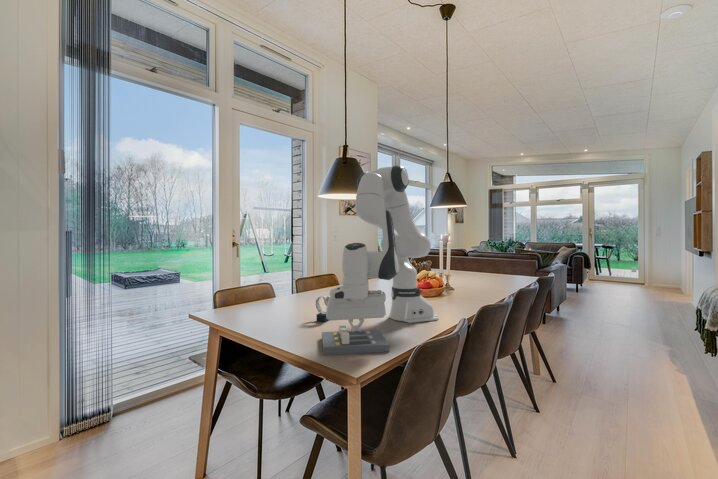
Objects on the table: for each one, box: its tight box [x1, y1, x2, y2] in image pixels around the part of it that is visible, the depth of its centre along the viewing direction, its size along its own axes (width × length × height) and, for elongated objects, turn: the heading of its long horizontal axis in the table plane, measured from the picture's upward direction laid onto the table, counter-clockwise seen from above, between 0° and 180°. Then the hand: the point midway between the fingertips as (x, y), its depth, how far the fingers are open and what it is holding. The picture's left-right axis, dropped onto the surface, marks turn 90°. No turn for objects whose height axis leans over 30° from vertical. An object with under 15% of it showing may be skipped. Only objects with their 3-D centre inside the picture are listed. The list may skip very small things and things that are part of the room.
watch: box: [315, 295, 330, 323], centre depth 159 cm, size 6×8×11 cm
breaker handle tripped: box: [342, 332, 349, 344], centre depth 121 cm, size 2×3×3 cm
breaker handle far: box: [338, 323, 347, 334], centre depth 132 cm, size 2×3×3 cm
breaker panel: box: [321, 329, 390, 356], centre depth 127 cm, size 22×17×3 cm
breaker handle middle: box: [340, 327, 349, 339], centre depth 126 cm, size 2×3×3 cm
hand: (356, 331), depth 122 cm, fingers closed
